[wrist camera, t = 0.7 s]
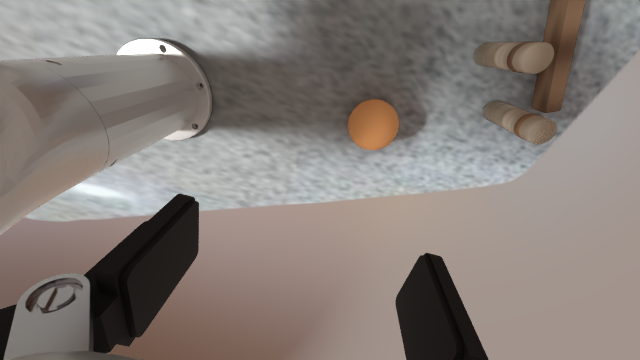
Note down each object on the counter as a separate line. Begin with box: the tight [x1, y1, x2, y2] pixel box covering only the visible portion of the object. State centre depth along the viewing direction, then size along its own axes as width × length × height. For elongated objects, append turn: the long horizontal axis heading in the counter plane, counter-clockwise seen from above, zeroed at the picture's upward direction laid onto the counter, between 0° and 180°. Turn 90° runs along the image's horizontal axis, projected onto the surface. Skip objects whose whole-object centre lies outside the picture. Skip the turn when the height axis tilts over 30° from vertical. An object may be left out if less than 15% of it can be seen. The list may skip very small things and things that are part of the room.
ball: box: [348, 99, 399, 150], centre depth 31 cm, size 6×6×6 cm
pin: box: [474, 42, 554, 74], centre depth 26 cm, size 2×2×9 cm
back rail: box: [532, 0, 585, 113], centre depth 28 cm, size 12×2×2 cm, turn 11°
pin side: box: [483, 100, 557, 144], centre depth 28 cm, size 2×2×9 cm
